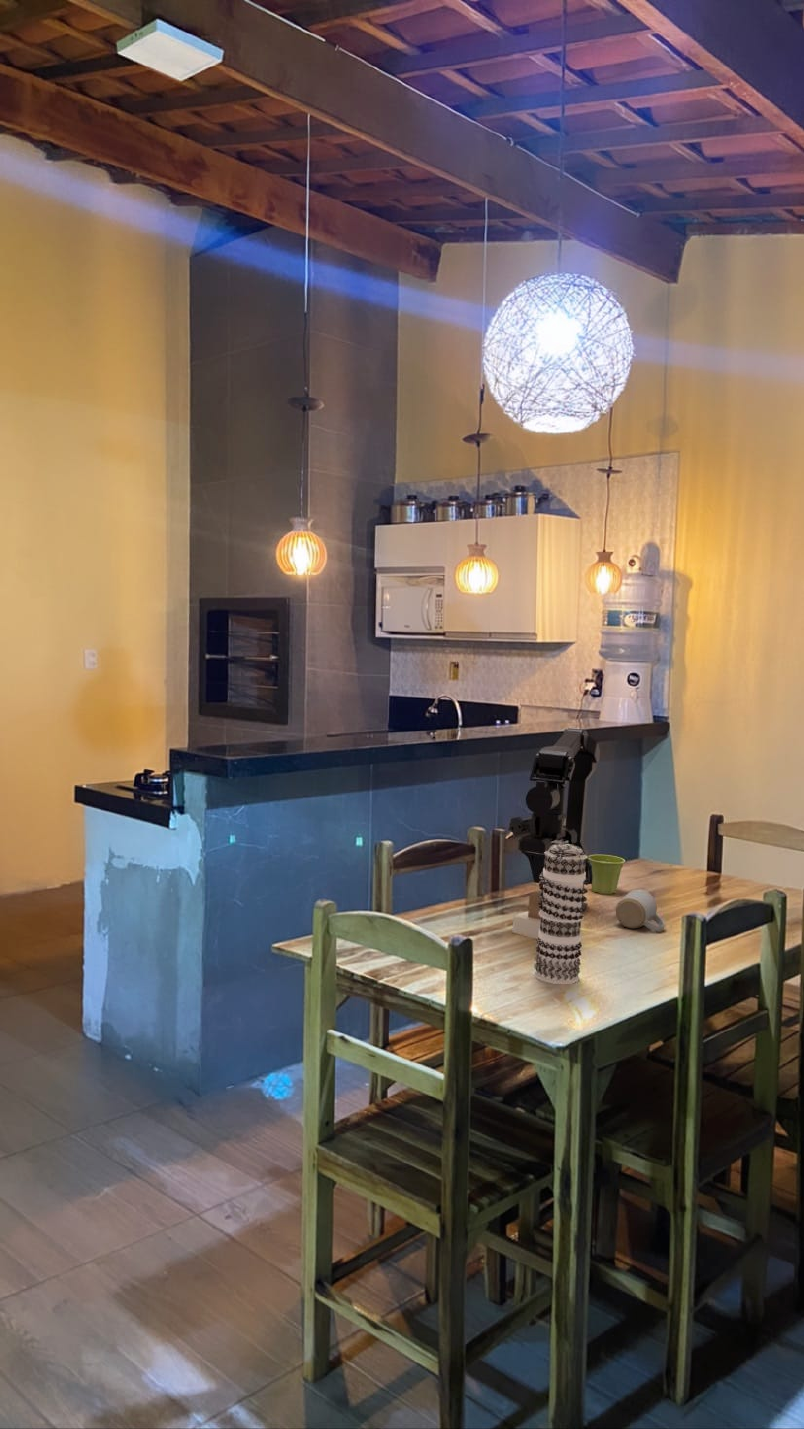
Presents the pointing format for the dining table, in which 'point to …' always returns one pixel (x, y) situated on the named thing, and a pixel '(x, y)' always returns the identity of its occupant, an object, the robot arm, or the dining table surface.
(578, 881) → the decorative candle
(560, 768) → the robot arm
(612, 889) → the plant pot
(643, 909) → the ceramic mug
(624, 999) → the dining table surface
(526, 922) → the cream block
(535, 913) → the walnut cube
